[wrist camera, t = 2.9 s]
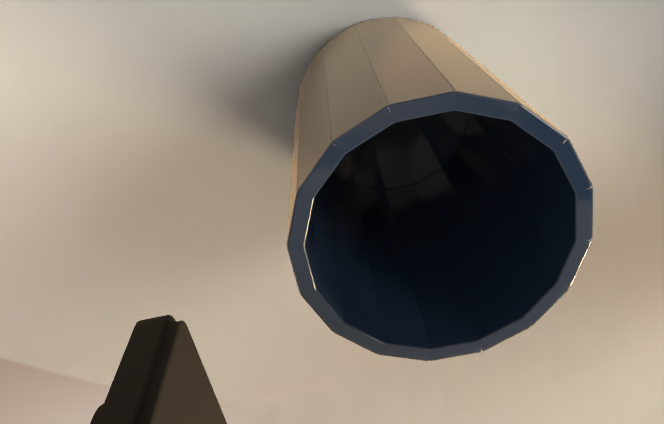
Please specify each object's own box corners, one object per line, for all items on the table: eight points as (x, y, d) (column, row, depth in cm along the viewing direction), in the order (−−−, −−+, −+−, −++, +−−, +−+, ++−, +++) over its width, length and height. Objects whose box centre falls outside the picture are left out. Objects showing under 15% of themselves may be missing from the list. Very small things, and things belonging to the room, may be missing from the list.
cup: (467, -2, 20) (595, 62, 11) (482, 172, 23) (591, 332, 14) (278, 39, 20) (254, 132, 11) (318, 205, 23) (323, 380, 15)
